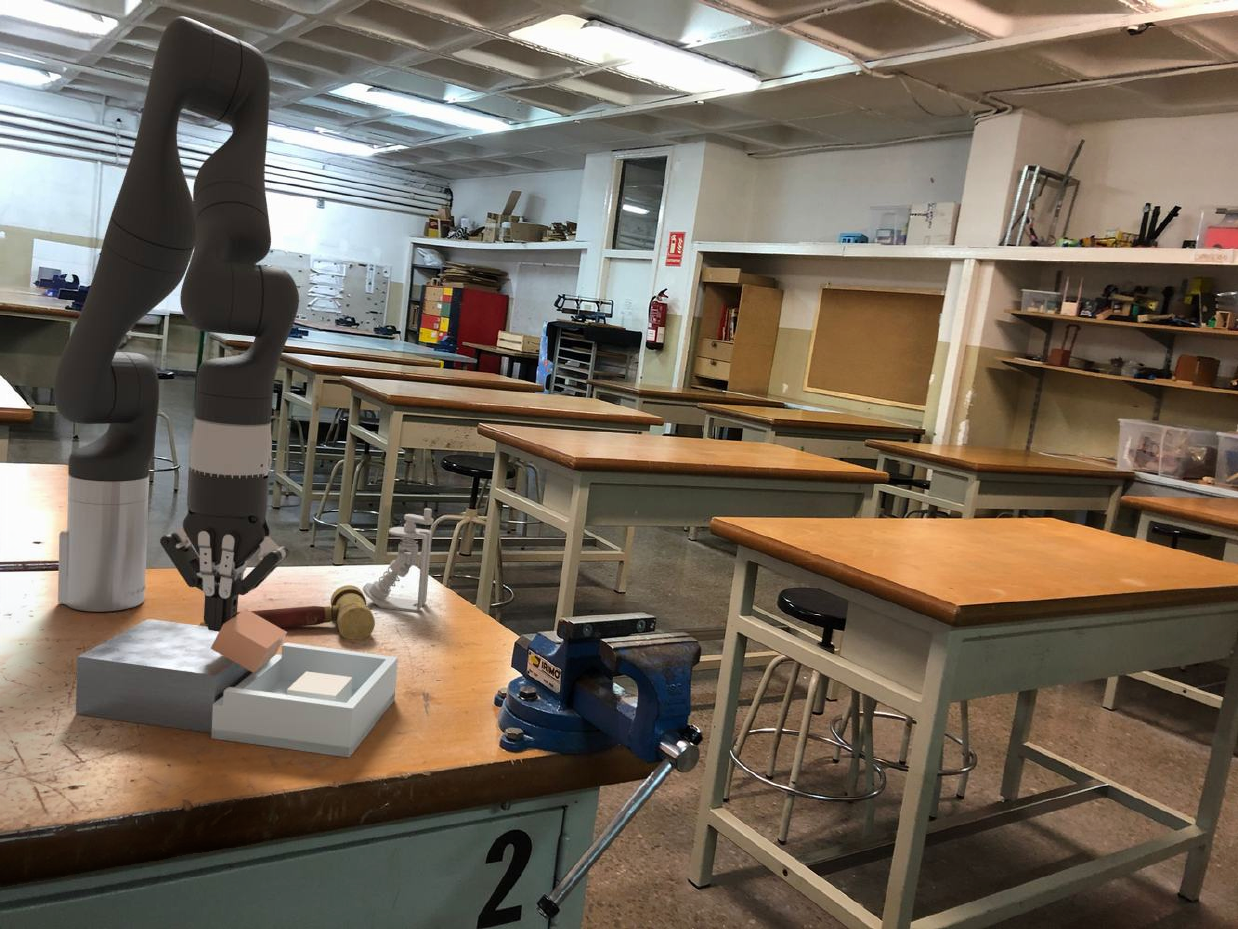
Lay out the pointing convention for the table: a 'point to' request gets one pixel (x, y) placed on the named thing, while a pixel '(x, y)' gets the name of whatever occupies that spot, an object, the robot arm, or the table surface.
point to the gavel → (327, 614)
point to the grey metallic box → (156, 676)
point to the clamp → (405, 565)
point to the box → (307, 702)
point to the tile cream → (322, 687)
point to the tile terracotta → (248, 640)
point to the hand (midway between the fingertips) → (219, 628)
